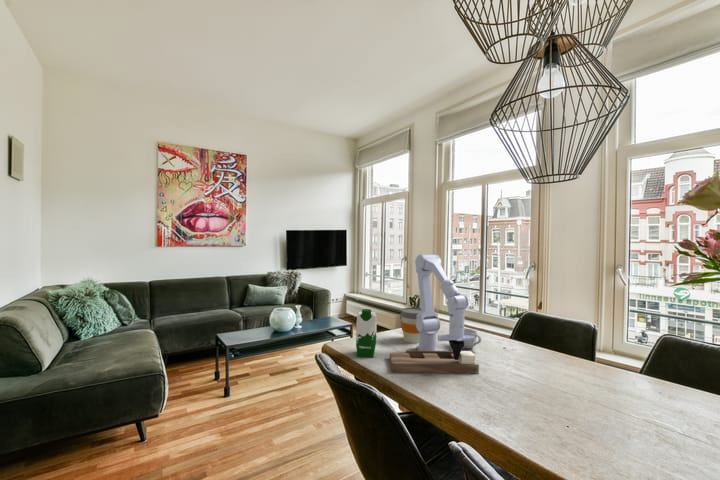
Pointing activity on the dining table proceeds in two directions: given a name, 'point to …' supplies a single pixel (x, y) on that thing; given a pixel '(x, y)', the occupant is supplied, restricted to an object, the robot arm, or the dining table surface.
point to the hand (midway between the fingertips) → (455, 359)
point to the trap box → (429, 362)
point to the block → (466, 357)
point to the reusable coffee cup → (410, 324)
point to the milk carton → (366, 333)
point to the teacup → (469, 343)
